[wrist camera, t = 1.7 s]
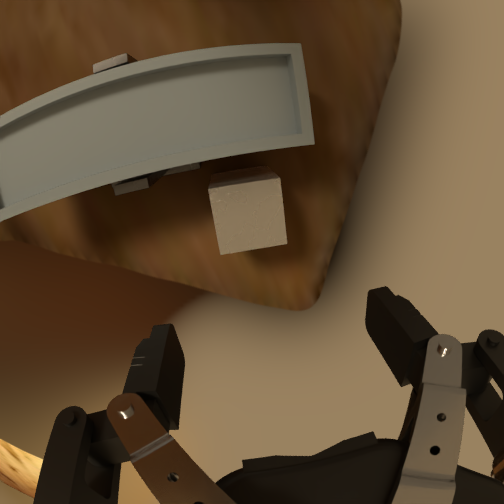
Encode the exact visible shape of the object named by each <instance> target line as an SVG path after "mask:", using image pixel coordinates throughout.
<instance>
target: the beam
mask: <svg viewBox="0 0 504 504" xmlns="http://www.w3.org/2000/svg"><path fill="white" fill-rule="evenodd" d="M313 144H315V143H314V133H313V124H312V116H311V108H310V100H309V93H308V86H307V79H306V72H305V66H304V59H303V53H302V48H301V43H269V44H247V45H234V46H224V47H215V48H207V49H199V50H193V51H186V52H180V53H175V54H170V55H165V56H160V57H155V58H151V59H146V60H142V61H138V62H134V63H130V64H127V65H123V66H119V67H116V68H113V69H109V70H106V71H103V72H100V73H97V74H94V75H91V76H88V77H85V78H82V79H80V80H77V81H74V82H72V83H69V84H66V85H64V86H61V87H59V88H57V89H54V90H52V91H49V92H47V93H45V94H43V95H41V96H38V97H36V98H34V99H32V100H30V101H28V102H26V103H24V104H22V105H20V106H18V107H16V108H14V109H12V110H10V111H8V112H7V113H5V114H3V115H1V116H0V222H1V221H3V220H5V219H8V218H10V217H13V216H15V215H18V214H20V213H23V212H25V211H28V210H31V209H33V208H36V207H39V206H41V205H44V204H47V203H50V202H53V201H56V200H59V199H61V198H64V197H67V196H70V195H74V194H77V193H80V192H83V191H86V190H89V189H93V188H96V187H99V186H103V185H106V184H110V183H113V182H117V181H120V180H124V179H128V178H132V177H135V176H139V175H143V174H147V173H151V172H155V171H160V170H164V169H168V168H173V167H177V166H182V165H186V164H191V163H196V162H201V161H206V160H211V159H216V158H222V157H227V156H233V155H239V154H245V153H252V152H258V151H265V150H272V149H279V148H287V147H295V146H304V145H313Z"/></svg>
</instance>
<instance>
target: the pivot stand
mask: <svg viewBox="0 0 504 504" xmlns="http://www.w3.org/2000/svg"><path fill="white" fill-rule="evenodd" d="M134 62H138V61H137V60H136V59H134V58H133V57H132V56H130V55H129V54H127V53H125V54H122V55H119V56H116V57H113V58H110V59H107V60H104V61H102V62H99V63H96V64H94V65H93V72H94V74H97V73H100V72H103V71H106V70H109V69H113V68H116V67H119V66H123V65H127V64H130V63H134ZM200 167H201V165H200V162H196V163H191V164H186V165H182V166H177V167H173V168H168V169H164V170H160V171H155V172H151V173H147V174H143V175H139V176H135V177H132V178H128V179H124V180H120V181H117V182H113V183H111V184H112V188H114V192H115V196H116V195H120V194H124V193H128V192H132V191H137V190H141V189H145V188H149V187H150V186H151V185H153V184H154V183H155V182H156V181H157V180H158V179H159V178H161V177H162V176H164V175H169V174H174V173H179V172H184V171H189V170H194V169H199V168H200Z"/></svg>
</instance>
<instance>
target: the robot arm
mask: <svg viewBox="0 0 504 504" xmlns="http://www.w3.org/2000/svg"><path fill="white" fill-rule="evenodd" d="M365 324H366V329H367V332H368V334H369V335H370V337H371V338H372V340H373V342H374V343H375V345H376V347H377V348H378V350H379V352H380V353H381V354H382V356H383V358H384V360H385V361H386V363H387V364H388V366H389V368H390V369H391V371H392V373H393V374H394V376H395V378H396V379H397V381H398V383H399V384H400V386H401V387H403V386H405V385H408V384H412V386H413V389H412V392H411V396H410V400H409V405H408V408H407V412H406V416H405V419H404V423H403V427H402V430H401V432H400V435H399V437H398V440H395V439H386V438H385V439H376V437H375V434H374V432H369V433H366V434H363V435H360V436H357V437H354V438H350V439H347V440H343V441H342V442H340V443H337V444H336V445H334V446H332V447H330V448H328V449H326V450H324V451H322V452H319V453H317V454H315V455H312V456H277V455H275V456H269V457H263V458H255V459H247V460H242V462H243V468H241V469H238V470H236V471H234V472H231V473H229V474H228V475H226V476H224V477H223V478H221V479H220V480H219V481H217V482H216V483H214V482H213V481H212V480H211V479H210V478H209V477H208V476H207V475H206V474H205V473H204V471H203V470H202V469H201V468H200V467H199V466H198V465H197V464H196V463H195V462H194V461H193V460H192V459H191V458H190V456H189V455H188V454H187V453H186V452H185V451H184V450H183V448H181V446H180V445H179V444H178V443H177V442H176V440H175V439H174V438H173V437H172V436H171V435H169V430H178V429H179V418H180V408H181V397H182V388H183V378H184V369H185V359H184V354H183V350H182V348H181V345H180V342H179V339H178V337H177V334H176V331H175V328H174V326H173V324H163V325H154V326H153V328H152V332H151V336H150V338H147V339H143V340H142V341H141V343H140V344H139V345H138V346H137V347H136V350H135V353H134V356H133V358H134V359H133V360H132V363H131V367H130V369H129V373H128V376H127V379H126V383H125V386H124V390H123V393H122V394H121V395H118V396H116V397H115V398H114V399H112V401H111V402H110V403H109V405H108V407H107V409H106V410H103V411H99V412H95V413H91V414H86V412H85V411H84V410H83V409H82V408H80V407H77V406H71V407H68V408H65V409H64V410H62V411H61V412H60V413H59V414H58V416H57V417H56V420H55V423H54V426H53V429H52V432H51V435H50V439H49V442H48V445H47V449H46V452H45V456H44V460H43V463H42V467H41V471H40V475H39V479H38V484H37V488H36V493H35V498H34V503H33V504H118V491H119V480H120V470H121V463H123V462H127V461H131V463H132V464H133V466H134V468H135V469H136V471H137V472H138V473H139V475H140V476H141V478H142V479H143V481H144V482H145V484H146V485H147V486H148V488H149V489H150V490H151V492H152V493H153V495H154V496H155V497H156V499H157V500H158V501H159V503H160V504H504V336H503V334H501V333H500V332H498V331H495V330H484V331H482V332H481V333H480V334H479V336H478V339H477V341H476V342H471V343H460V342H459V341H458V340H457V339H456V338H454V337H453V336H450V335H446V334H438V332H437V331H436V330H435V329H434V328H433V327H432V326H431V325H430V323H429V322H428V321H427V320H426V319H425V318H424V317H423V316H422V315H421V314H420V312H419V311H418V310H417V309H415V307H414V306H413V305H412V303H411V302H410V301H409V300H407V299H405V298H403V297H401V296H399V295H397V296H395V295H394V294H393V293H392V292H391V291H390V289H389V288H388V287H386V286H385V287H381V288H376V289H372V290H369V292H368V297H367V308H366V318H365ZM492 378H493V379H494V381H495V382H496V383H497V385H498V386H499V388H500V389H501V391H502V393H503V400H502V399H501V398H500V397H499V395H498V393H497V392H496V391H495V389H494V388H493V386H492V385H491V383H490V380H491V379H492ZM465 406H466V408H467V409H468V411H469V413H470V415H471V416H472V418H473V420H474V422H475V423H476V425H477V427H478V429H479V431H480V432H481V434H482V436H483V438H484V440H485V442H486V443H487V445H488V447H489V449H490V451H491V453H492V455H493V457H494V460H493V464H492V468H493V470H492V471H491V477H489V476H486V475H483V474H480V473H478V472H475V471H472V470H470V469H467V468H464V467H462V466H459V465H457V462H458V458H459V452H460V445H461V440H462V432H463V425H464V415H465Z"/></svg>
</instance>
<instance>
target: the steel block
mask: <svg viewBox="0 0 504 504" xmlns="http://www.w3.org/2000/svg"><path fill="white" fill-rule="evenodd" d="M208 191H209V197H210V202H211V208H212V213H213V218H214V224H215V229H216V234H217V239H218V244H219V249H220V254H221V255H223V254H229V253H235V252H241V251H247V250H253V249H259V248H265V247H271V246H277V245H284V244H287V237H286V227H285V217H284V207H283V198H282V189H281V180H280V177H279V176H278V175H276V174H275V173H274V172H273V171H272V170H271V169H270V168H269V167H268V166H267V165H266V166H259V167H252V168H245V169H239V170H232V171H226V172H220V173H214V174H211V179H210V183H209V187H208Z"/></svg>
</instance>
